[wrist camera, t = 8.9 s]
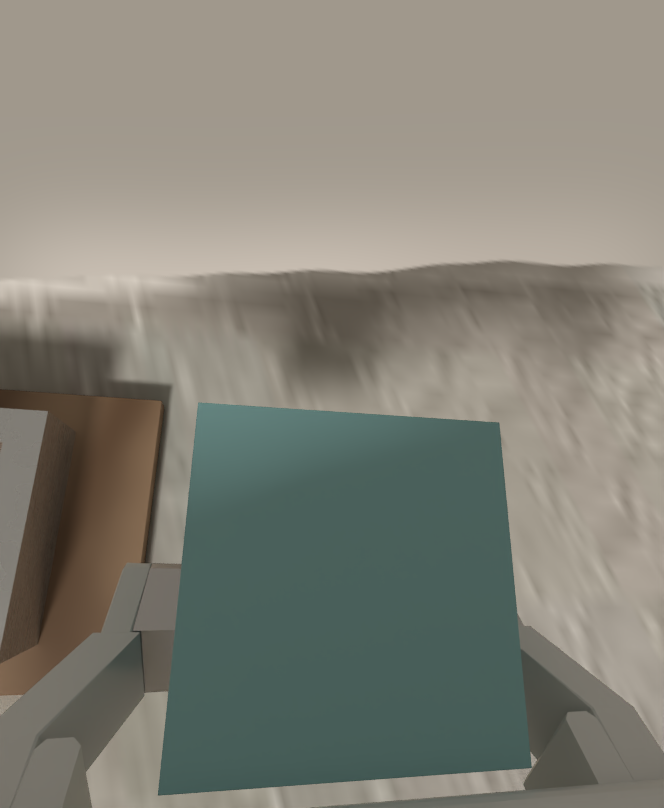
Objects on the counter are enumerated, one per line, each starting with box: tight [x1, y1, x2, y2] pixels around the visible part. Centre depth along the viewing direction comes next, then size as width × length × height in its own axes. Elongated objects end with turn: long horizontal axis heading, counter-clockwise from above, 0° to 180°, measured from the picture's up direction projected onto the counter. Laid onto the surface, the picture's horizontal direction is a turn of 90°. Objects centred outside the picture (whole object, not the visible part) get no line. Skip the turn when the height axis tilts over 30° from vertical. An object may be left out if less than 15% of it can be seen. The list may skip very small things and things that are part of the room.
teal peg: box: [158, 403, 532, 795], centre depth 11 cm, size 5×5×9 cm
